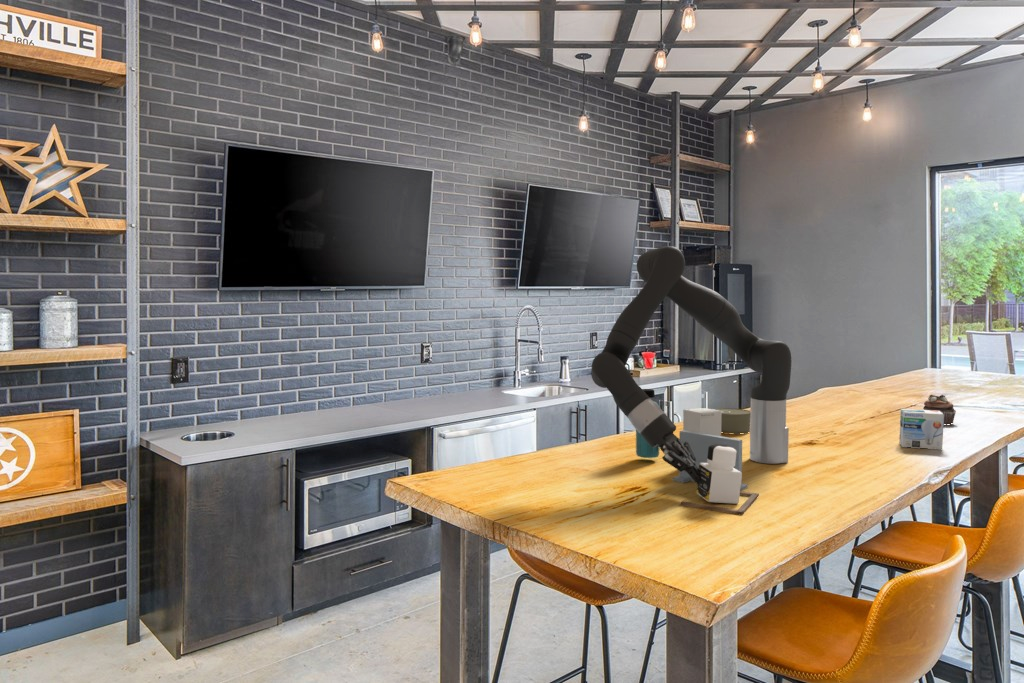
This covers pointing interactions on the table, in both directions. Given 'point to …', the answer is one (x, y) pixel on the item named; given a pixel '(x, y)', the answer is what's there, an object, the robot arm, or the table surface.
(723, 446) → the medicine bottle
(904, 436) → the light bulb box
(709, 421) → the skincare box
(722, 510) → the bay
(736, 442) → the screen
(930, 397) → the cupcake
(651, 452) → the beverage bottle
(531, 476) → the table surface
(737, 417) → the can
